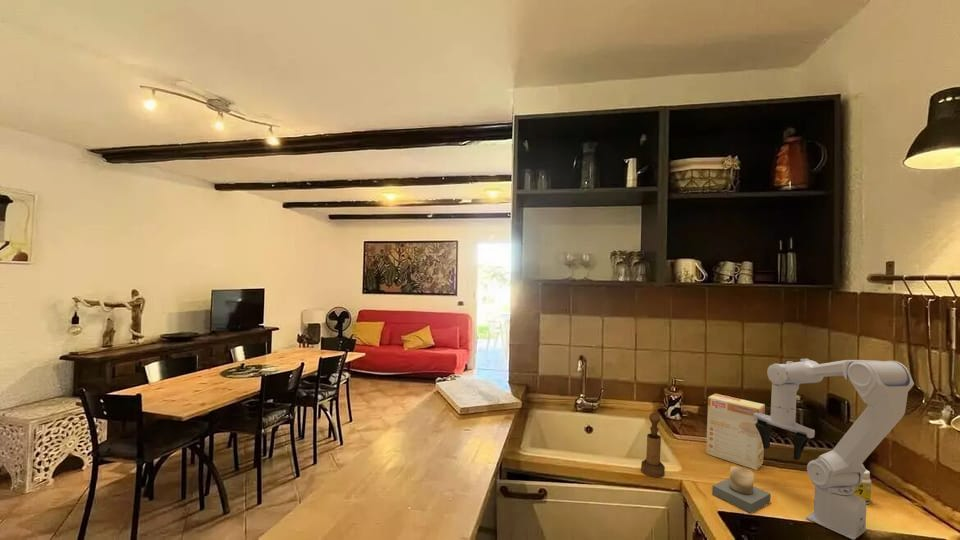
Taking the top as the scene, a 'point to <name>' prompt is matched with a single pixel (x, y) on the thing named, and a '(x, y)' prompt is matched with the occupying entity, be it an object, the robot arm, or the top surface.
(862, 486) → the supplement bottle
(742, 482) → the beech peg
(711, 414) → the coffeecake box
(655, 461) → the mortar and pestle
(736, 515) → the top surface
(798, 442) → the robot arm
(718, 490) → the grey slotted base
